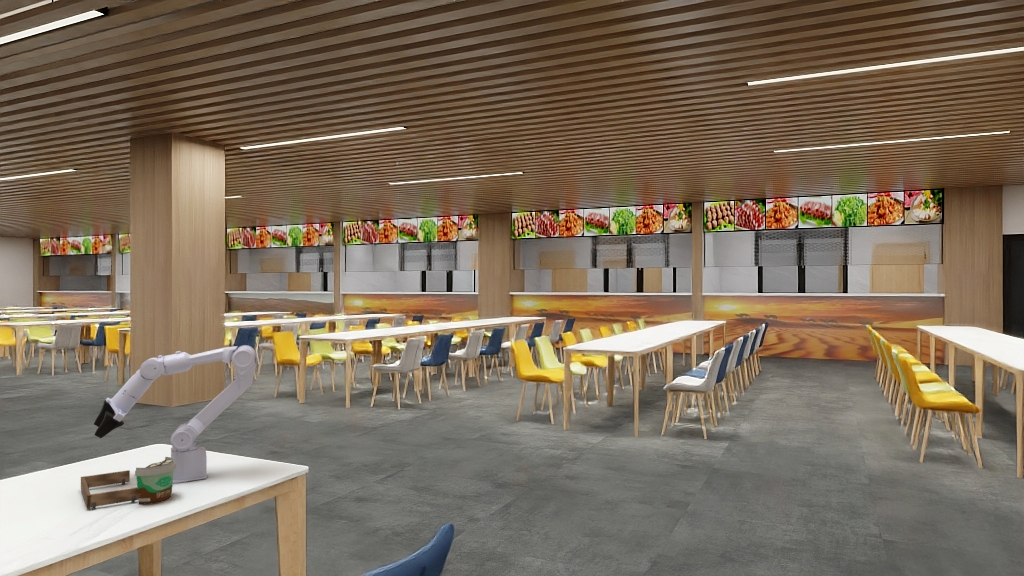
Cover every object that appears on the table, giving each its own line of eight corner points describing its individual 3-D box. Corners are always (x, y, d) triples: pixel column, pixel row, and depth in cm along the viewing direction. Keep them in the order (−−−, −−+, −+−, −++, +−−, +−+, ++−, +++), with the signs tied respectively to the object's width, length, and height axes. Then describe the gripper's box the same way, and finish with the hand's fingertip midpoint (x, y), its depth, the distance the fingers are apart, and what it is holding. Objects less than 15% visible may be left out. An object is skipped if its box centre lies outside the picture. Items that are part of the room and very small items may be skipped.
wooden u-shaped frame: (129, 482, 204) (129, 469, 203) (140, 502, 187) (140, 488, 187) (80, 489, 197) (80, 476, 196) (87, 510, 180) (87, 496, 180)
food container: (155, 508, 182) (155, 469, 182) (134, 506, 184) (134, 468, 183) (186, 493, 194) (186, 457, 194) (166, 491, 196) (166, 456, 196)
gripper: (116, 377, 207) (84, 414, 205) (119, 395, 195) (84, 434, 193) (138, 389, 211) (106, 426, 209) (142, 407, 199) (108, 446, 197)
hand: (97, 431), depth 201 cm, fingers open, 7 cm apart
